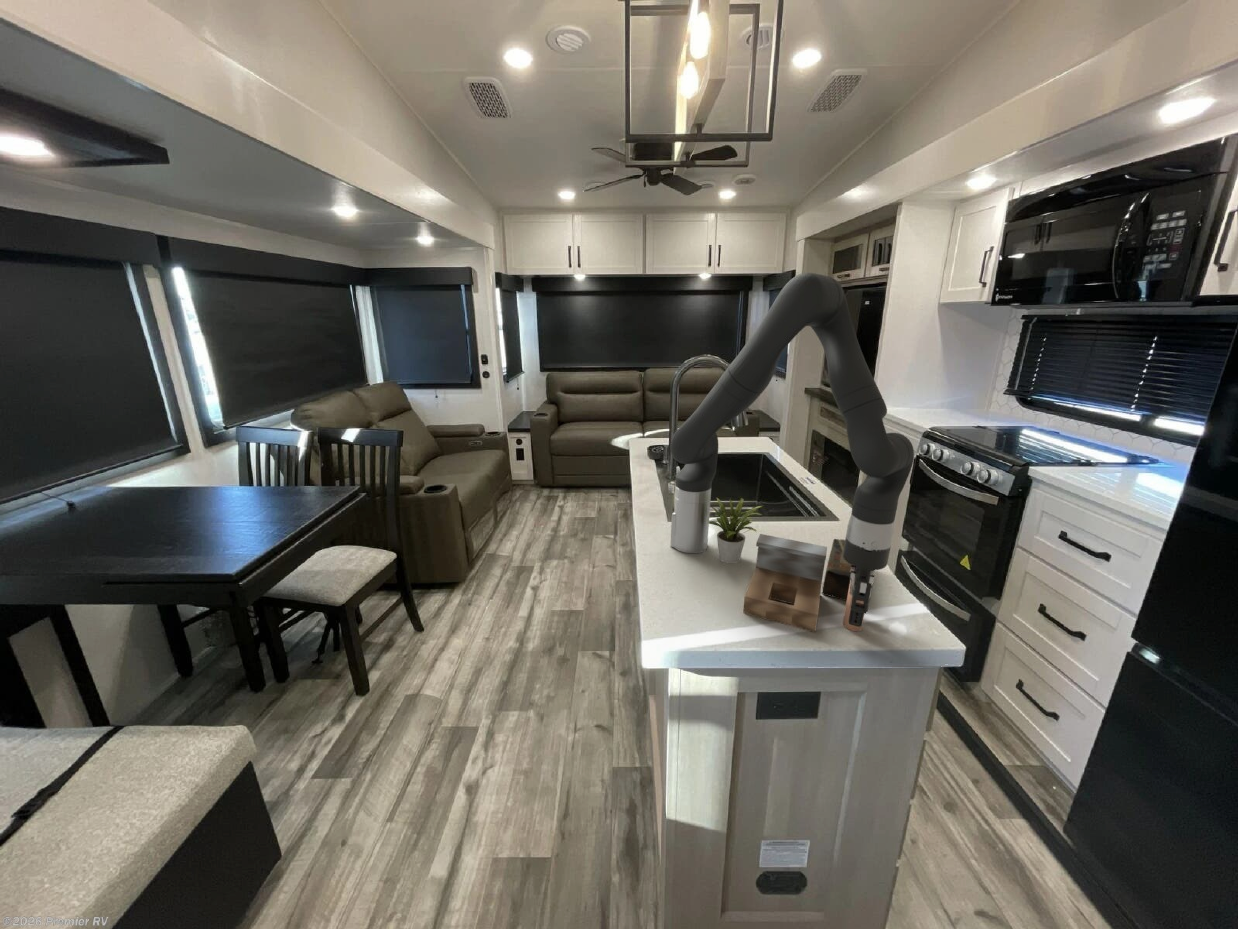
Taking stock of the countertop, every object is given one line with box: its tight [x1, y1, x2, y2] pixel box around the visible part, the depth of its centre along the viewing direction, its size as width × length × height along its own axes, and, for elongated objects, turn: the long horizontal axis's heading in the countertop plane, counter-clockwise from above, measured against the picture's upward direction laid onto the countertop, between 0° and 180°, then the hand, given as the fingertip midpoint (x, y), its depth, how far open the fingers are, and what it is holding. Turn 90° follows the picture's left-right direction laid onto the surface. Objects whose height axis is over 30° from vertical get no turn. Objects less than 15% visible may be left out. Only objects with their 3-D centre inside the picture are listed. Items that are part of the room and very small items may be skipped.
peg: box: [842, 579, 865, 632], centre depth 89 cm, size 3×3×10 cm
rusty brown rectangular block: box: [822, 538, 851, 602], centre depth 106 cm, size 8×19×7 cm, turn 151°
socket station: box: [742, 533, 828, 633], centre depth 96 cm, size 14×14×12 cm
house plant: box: [708, 497, 763, 564], centre depth 113 cm, size 14×14×16 cm
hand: (854, 612), depth 90 cm, fingers open, 8 cm apart
